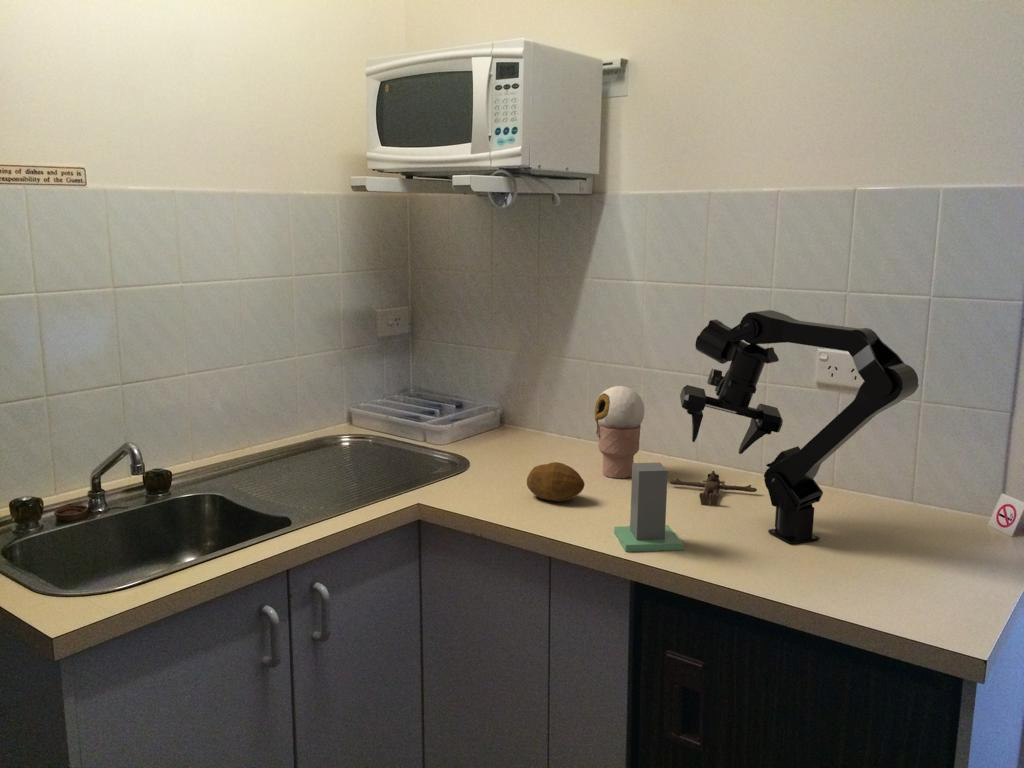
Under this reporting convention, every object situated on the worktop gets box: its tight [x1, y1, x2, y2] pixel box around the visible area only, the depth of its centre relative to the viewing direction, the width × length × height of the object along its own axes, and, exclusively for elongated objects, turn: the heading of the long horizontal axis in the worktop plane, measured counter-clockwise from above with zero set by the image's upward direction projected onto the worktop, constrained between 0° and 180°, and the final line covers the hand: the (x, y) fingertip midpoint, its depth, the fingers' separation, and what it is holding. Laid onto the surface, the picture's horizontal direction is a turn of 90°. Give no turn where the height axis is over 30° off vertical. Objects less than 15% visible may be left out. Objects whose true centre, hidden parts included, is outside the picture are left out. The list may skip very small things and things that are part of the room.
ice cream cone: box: [594, 385, 646, 480], centre depth 192 cm, size 11×11×20 cm
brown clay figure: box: [668, 470, 758, 507], centre depth 180 cm, size 18×4×14 cm
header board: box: [613, 524, 683, 553], centre depth 154 cm, size 10×9×3 cm
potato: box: [526, 461, 585, 502], centre depth 176 cm, size 8×12×8 cm, turn 70°
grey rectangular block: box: [629, 461, 669, 540], centre depth 153 cm, size 5×5×12 cm
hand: (716, 447), depth 167 cm, fingers open, 9 cm apart
